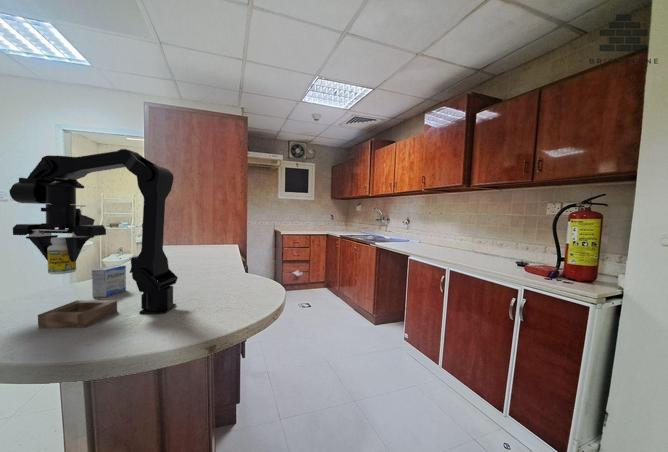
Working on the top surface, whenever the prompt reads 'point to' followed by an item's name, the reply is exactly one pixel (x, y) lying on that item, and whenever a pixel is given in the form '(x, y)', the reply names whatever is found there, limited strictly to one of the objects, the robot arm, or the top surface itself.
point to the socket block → (77, 314)
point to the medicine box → (108, 280)
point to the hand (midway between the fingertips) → (62, 261)
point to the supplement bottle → (59, 257)
